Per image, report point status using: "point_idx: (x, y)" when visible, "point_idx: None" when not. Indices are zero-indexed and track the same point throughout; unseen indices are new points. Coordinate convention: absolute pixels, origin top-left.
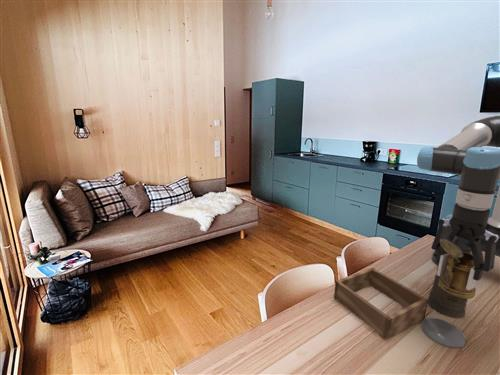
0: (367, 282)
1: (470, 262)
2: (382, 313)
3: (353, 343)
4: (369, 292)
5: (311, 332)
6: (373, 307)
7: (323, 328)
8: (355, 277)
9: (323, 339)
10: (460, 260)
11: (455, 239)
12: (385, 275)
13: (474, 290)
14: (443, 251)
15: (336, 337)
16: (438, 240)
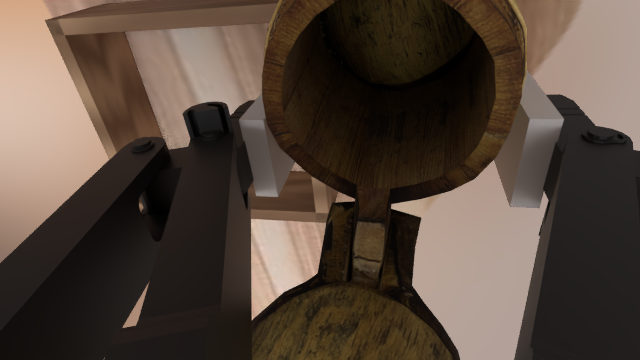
0: (113, 46)
1: (482, 164)
2: (300, 216)
3: (317, 244)
4: (156, 57)
5: (262, 282)
6: (270, 216)
7: (260, 261)
8: (113, 137)
9: (286, 278)
10: (404, 197)
11: (229, 293)
12: (109, 19)
13: None
14: (250, 220)
15: (290, 258)
16: (143, 290)
